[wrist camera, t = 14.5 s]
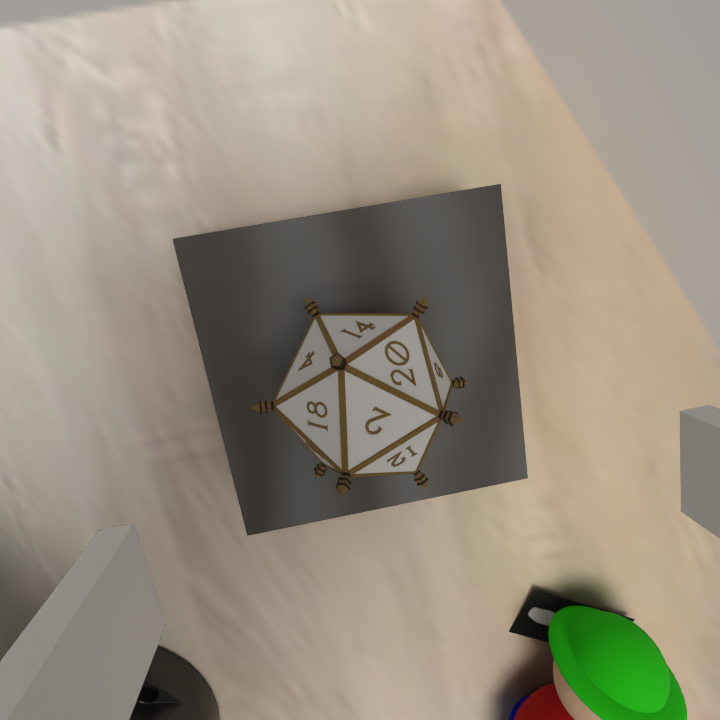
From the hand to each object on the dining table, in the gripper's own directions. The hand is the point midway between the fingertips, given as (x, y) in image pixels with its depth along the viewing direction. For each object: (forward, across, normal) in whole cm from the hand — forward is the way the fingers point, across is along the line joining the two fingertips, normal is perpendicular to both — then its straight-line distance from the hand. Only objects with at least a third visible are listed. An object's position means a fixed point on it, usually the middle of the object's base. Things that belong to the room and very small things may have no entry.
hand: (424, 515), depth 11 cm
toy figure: (+20, +11, -27) cm, 35 cm away
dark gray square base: (+19, 0, 0) cm, 19 cm away
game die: (+14, 0, 0) cm, 14 cm away
